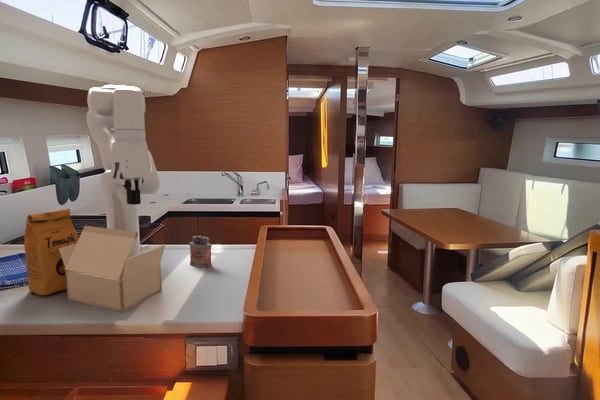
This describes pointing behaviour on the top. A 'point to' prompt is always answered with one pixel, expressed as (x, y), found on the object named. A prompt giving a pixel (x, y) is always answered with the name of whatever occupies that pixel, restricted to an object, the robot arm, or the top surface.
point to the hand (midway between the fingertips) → (133, 203)
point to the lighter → (200, 252)
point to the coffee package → (47, 250)
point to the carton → (116, 282)
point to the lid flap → (101, 252)
